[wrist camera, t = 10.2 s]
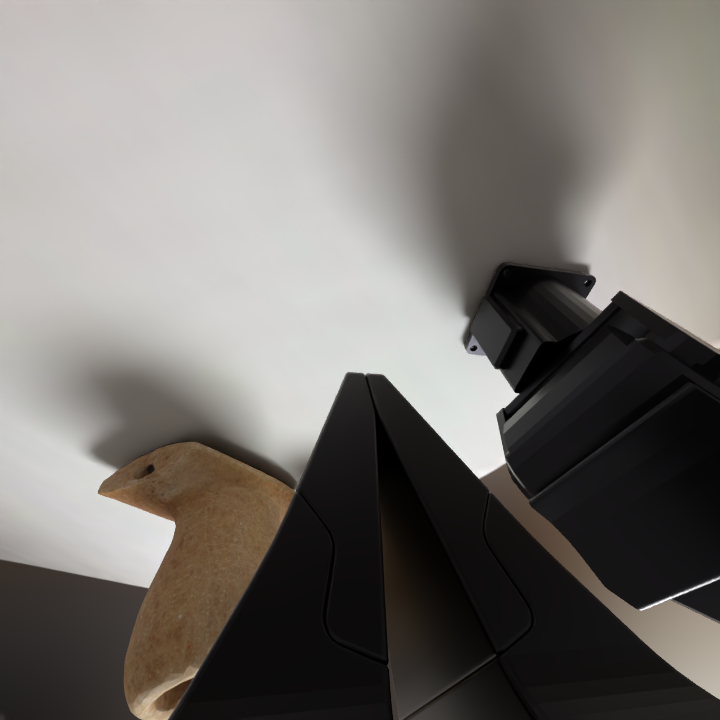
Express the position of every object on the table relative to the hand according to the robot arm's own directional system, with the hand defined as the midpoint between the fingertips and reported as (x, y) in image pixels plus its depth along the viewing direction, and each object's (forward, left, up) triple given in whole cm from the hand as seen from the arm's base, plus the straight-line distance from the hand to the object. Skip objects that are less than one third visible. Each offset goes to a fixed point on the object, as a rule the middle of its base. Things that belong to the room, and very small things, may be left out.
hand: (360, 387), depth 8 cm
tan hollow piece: (+7, +23, -13) cm, 27 cm away
